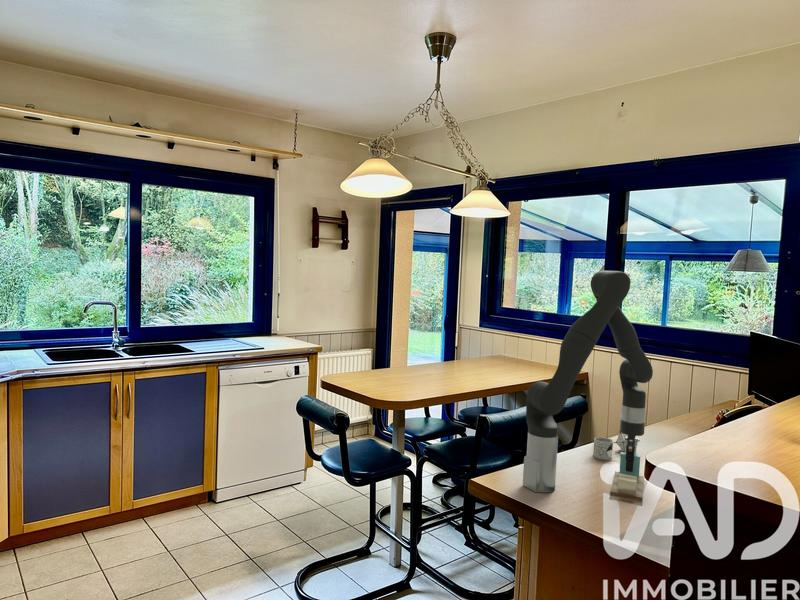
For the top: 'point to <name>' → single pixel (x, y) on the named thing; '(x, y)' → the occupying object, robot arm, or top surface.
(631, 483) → the ash cube
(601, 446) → the mug
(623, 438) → the game die
